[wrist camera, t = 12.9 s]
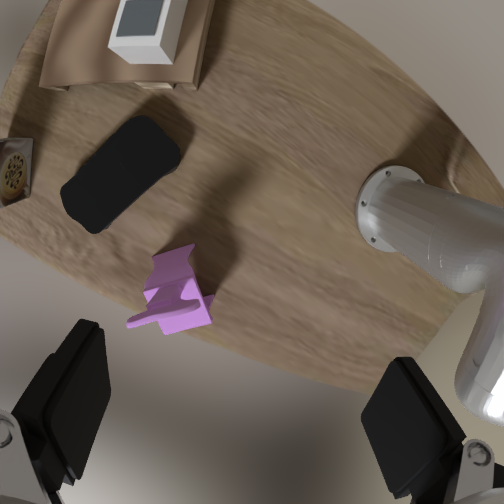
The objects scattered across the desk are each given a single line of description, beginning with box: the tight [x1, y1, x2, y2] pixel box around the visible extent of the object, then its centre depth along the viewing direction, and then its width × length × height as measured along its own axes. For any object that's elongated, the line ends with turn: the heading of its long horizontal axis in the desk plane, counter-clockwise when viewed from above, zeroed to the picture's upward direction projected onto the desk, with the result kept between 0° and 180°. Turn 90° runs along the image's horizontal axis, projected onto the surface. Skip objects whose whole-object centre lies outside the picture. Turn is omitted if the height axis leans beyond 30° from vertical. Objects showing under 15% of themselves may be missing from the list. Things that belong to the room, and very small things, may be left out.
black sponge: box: [60, 116, 180, 234], centre depth 35 cm, size 16×8×4 cm, turn 126°
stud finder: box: [108, 0, 188, 64], centre depth 22 cm, size 5×10×7 cm, turn 171°
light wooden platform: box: [39, 0, 215, 91], centre depth 27 cm, size 20×16×6 cm
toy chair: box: [127, 243, 214, 335], centre depth 35 cm, size 8×9×15 cm
